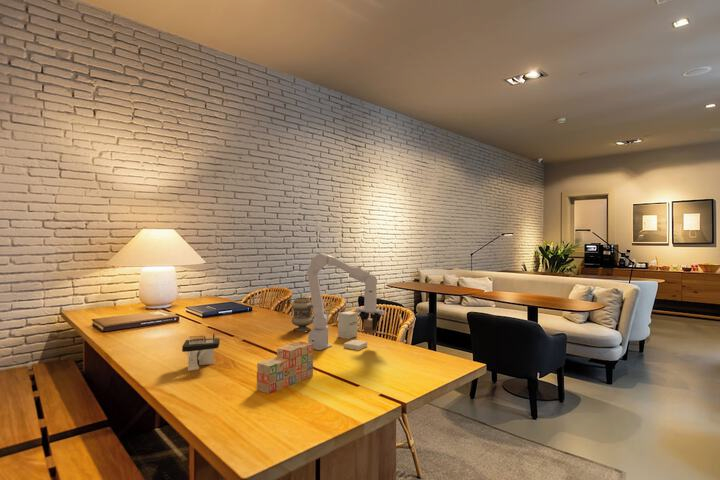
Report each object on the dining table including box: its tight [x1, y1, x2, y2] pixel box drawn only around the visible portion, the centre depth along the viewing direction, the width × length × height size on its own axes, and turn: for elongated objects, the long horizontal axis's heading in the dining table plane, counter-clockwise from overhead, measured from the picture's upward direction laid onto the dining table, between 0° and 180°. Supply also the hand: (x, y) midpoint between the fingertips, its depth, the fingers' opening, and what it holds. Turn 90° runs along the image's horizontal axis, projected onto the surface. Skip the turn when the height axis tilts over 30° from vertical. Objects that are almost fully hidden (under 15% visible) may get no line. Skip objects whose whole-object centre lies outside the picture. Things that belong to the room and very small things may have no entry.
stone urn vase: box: [291, 296, 314, 333], centre depth 220 cm, size 12×12×18 cm
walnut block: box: [363, 317, 378, 335], centre depth 187 cm, size 4×4×6 cm
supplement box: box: [337, 311, 358, 340], centre depth 206 cm, size 7×7×13 cm
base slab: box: [343, 339, 368, 351], centre depth 187 cm, size 8×8×2 cm
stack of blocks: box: [256, 341, 314, 395], centre depth 140 cm, size 21×6×12 cm, turn 144°
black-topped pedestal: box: [181, 331, 221, 372], centre depth 156 cm, size 28×26×13 cm
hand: (370, 328), depth 187 cm, fingers closed on walnut block, 4 cm apart
